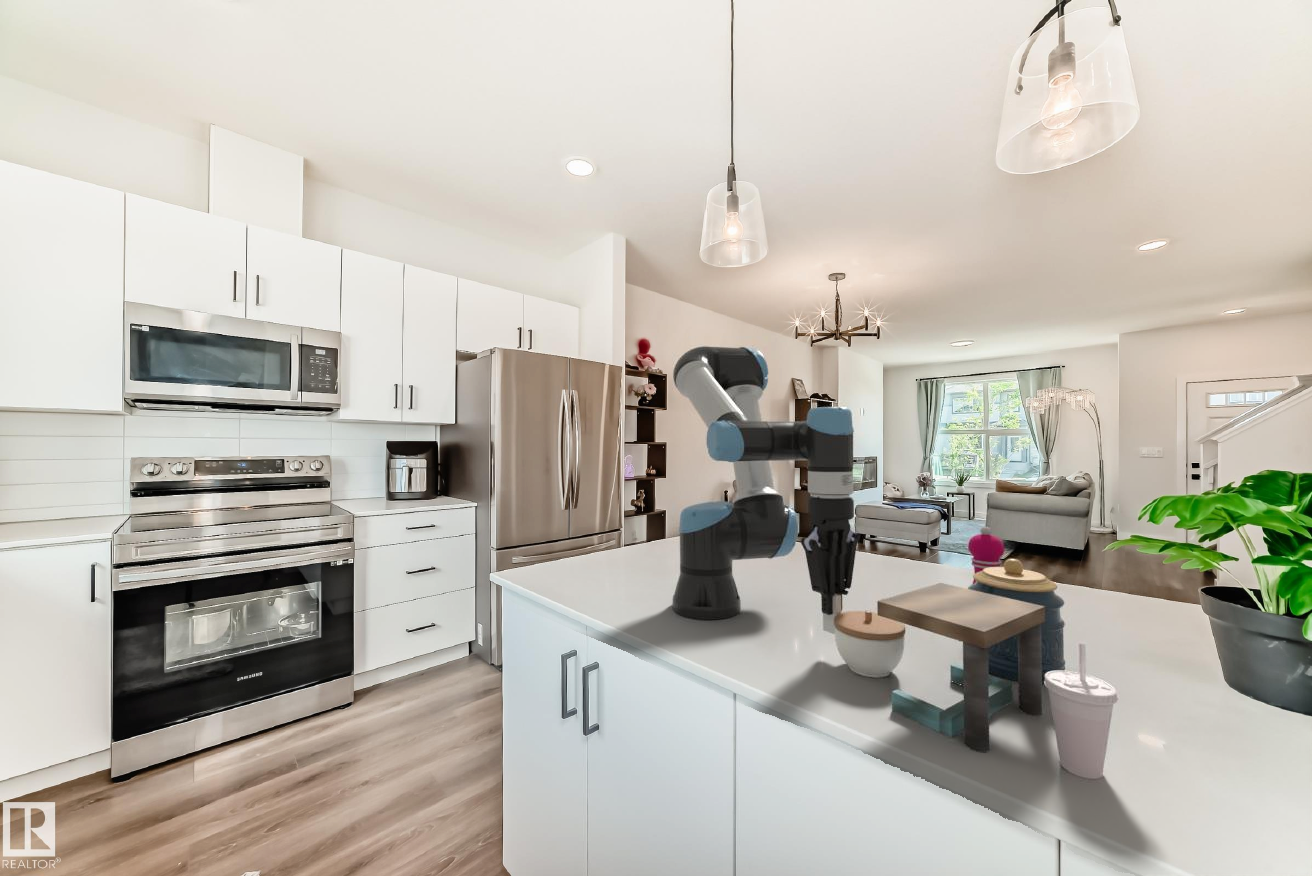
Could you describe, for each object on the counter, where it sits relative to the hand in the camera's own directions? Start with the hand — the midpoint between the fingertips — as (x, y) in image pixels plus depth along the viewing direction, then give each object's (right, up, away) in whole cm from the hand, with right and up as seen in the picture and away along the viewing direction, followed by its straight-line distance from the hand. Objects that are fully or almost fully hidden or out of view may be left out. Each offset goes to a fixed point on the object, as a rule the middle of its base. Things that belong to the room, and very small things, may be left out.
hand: (832, 631), depth 88 cm
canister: (+28, -4, -5) cm, 29 cm away
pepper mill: (+35, -4, +12) cm, 37 cm away
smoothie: (+17, -4, -31) cm, 36 cm away
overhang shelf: (+12, -4, -18) cm, 22 cm away
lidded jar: (+4, -4, -6) cm, 8 cm away
